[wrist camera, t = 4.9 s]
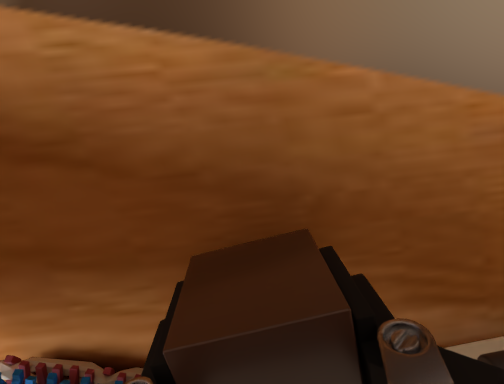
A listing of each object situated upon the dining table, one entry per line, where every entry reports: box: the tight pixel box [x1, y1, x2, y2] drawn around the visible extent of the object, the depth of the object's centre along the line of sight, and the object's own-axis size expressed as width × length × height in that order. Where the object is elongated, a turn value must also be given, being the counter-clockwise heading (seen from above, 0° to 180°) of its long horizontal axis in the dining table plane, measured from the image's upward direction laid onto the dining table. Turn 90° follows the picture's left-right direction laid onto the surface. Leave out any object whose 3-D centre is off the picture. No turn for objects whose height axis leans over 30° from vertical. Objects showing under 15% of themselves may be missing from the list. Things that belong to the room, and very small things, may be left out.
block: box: [163, 229, 363, 384], centre depth 10 cm, size 5×5×5 cm
